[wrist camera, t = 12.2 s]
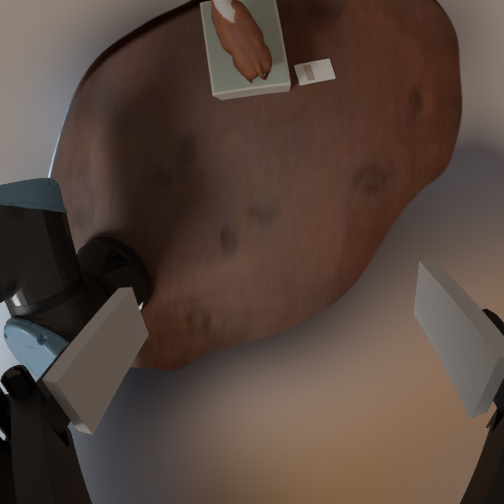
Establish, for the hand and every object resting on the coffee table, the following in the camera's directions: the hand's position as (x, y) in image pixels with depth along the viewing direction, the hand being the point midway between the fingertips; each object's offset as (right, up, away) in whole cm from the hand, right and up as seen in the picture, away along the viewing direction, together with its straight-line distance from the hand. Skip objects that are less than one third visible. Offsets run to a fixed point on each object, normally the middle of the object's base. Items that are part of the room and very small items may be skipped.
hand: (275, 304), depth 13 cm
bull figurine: (-2, +27, +16) cm, 31 cm away
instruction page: (+7, +26, +22) cm, 35 cm away
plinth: (-1, +29, +22) cm, 36 cm away
